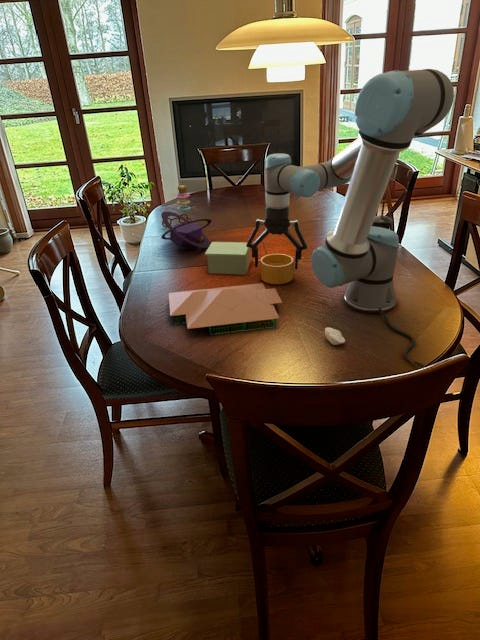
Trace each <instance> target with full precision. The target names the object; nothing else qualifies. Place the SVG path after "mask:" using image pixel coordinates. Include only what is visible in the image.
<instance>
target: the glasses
mask: <svg viewBox="0 0 480 640" xmlns="http://www.w3.org/2000/svg"><path fill="white" fill-rule="evenodd" d="M179 215H180V216H182V217H184V216H185V217H186V219H187V220H189V221H190V222H191V221H194V220H193V219H192V218H191V217H189V216H188V215H187V214H186V213H182V214H179ZM183 215H184V216H183ZM168 220H169V223H170V225H171V226H172V221H174V220H178V223H179V224H184V223H187V222H186V221H181V219H180V218H178V217H173V218H170V217H168ZM193 223H196V224H197V225H199V224H198V223H197V222H193ZM161 225H162V226H163V228H168V226H167V225H166V224H165V223H164V221H163V220H162V221H161Z"/></svg>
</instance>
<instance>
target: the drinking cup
mask: <svg viewBox="0 0 480 640" xmlns="http://www.w3.org/2000/svg"><path fill="white" fill-rule="evenodd" d="M385 204H386V202H385V201H383V202H382V206H381V213H380V214H379V215H376V216H375V218H374V221H373V224H372V226H374V227H381V228H386V229H389V230H391V226H392V223H393V218H391V217H390V216H387V215H384V213H385V212H384V211H385Z"/></svg>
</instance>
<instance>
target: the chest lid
mask: <svg viewBox="0 0 480 640" xmlns="http://www.w3.org/2000/svg"><path fill="white" fill-rule="evenodd" d="M246 244H247V242H242V241H241V242H240V241H239V242H238V241H237V242H236V241H211V243H210V246H209V247H208V248H206V251H205V252H204V256H237V257H246V254H247V251H248V249H249V247H247V246H246Z"/></svg>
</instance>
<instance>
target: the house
mask: <svg viewBox="0 0 480 640" xmlns="http://www.w3.org/2000/svg"><path fill="white" fill-rule="evenodd" d="M168 298H169V299H168V303H169V316H170V317H172V319H173V320H179V319H181V320H182V321H183V319H185V322H184V321H183V324H186V328H187V330H191V329H201V328H208V329H209V334H210V335H212V330H213V331H215V330H216V333H215V335H221V334H227V333H229V331H227V332H226V331H221V330H220V329H218V327H220V326H222V329H228V325H230V326H232V328H233V329H234V328H236V330H233V331H232V333H236V332H243V331H244V332H245V331H247V323H248V326H254V327H253V328H251V329H250V328H249V331H252V330H256V328H255V327H256V323H255V322H258V325H261V321H262V322H263V321H265V324H267V323H268V326H266V329H270V328H271V329H272V326H269V324H271V321H272V324H273V326H274V328H276V327H277V321H276V320H277V319H280V316H279V314H278V313H277V310H276V308H275V305H279V304H283V301H282V299H281V297H280V295H279V293H278V292H277V289H276V288H275V287H274V288H266V287H265V285H264V283H263V282H260V283H259V282H258V283H249V284H241V285H232V286H223V287H222V286H221V287H212V288H203V289H193V290H184V291H183V290H182V291H175V292H174V291H173V292H168ZM177 316H179V318H178V317H177ZM181 316H184V317H181ZM175 317H176V318H175ZM266 321H267V322H266ZM173 324H174V325H177V324H179V322H176V321H173ZM235 324H236V325H235ZM237 324H239V327H243V328H244V329H241V330H240V329H239V330H238V329H237V327H238V325H237ZM226 325H227V326H226ZM223 326H224V327H223ZM211 327H212V328H211ZM214 327H215V328H214ZM260 329H263V327H259V328H258V330H260ZM217 330H218V331H219V332H217ZM220 331H221V332H220Z"/></svg>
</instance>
